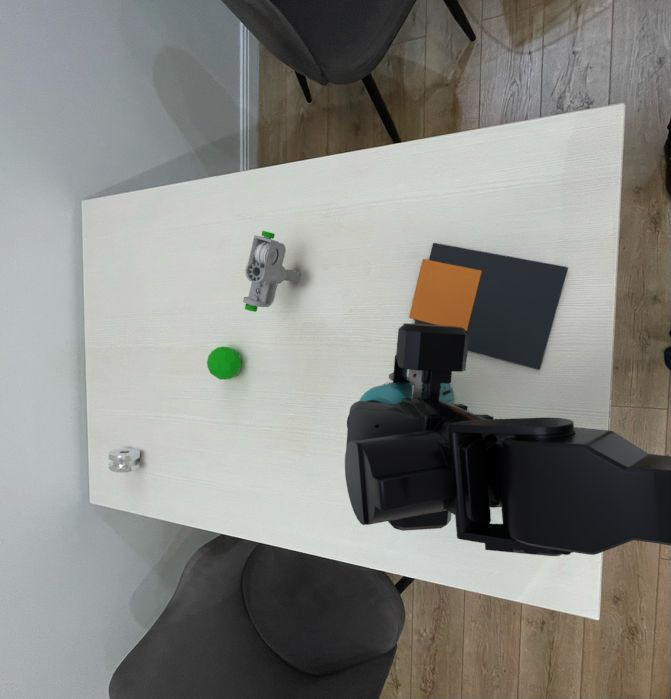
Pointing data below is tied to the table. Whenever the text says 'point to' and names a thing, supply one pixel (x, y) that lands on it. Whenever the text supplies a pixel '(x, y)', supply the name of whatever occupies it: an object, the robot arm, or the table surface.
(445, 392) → the beverage bottle
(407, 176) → the table surface
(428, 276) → the pad
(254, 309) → the mechanical component
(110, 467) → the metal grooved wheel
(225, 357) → the polyhedron
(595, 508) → the robot arm
